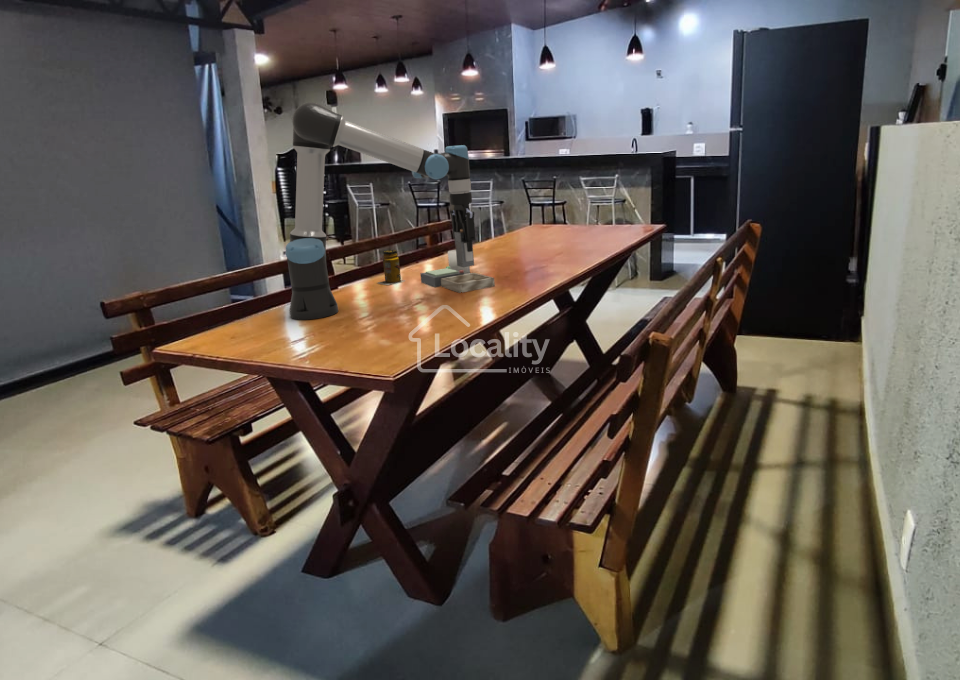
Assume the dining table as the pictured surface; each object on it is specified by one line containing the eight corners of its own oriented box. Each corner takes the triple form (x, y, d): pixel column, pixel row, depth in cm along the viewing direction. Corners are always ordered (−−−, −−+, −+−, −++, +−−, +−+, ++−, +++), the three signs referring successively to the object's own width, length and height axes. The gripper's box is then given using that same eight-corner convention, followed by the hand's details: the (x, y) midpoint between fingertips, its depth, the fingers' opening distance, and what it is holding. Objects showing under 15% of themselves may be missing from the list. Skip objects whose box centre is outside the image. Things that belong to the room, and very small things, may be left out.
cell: (463, 267, 233) (460, 230, 230) (457, 265, 237) (454, 229, 233) (474, 265, 235) (471, 228, 232) (468, 263, 239) (465, 227, 235)
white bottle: (455, 276, 257) (452, 243, 253) (446, 274, 263) (443, 241, 260) (473, 273, 260) (471, 240, 257) (464, 271, 267) (461, 238, 263)
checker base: (435, 287, 241) (434, 275, 240) (421, 282, 251) (419, 271, 250) (465, 281, 246) (464, 270, 245) (449, 277, 257) (448, 266, 256)
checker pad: (436, 279, 242) (436, 275, 242) (425, 275, 250) (425, 271, 249) (458, 275, 246) (458, 271, 246) (447, 272, 254) (447, 268, 254)
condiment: (405, 281, 256) (402, 250, 253) (388, 285, 251) (384, 253, 247) (394, 279, 261) (391, 248, 258) (376, 283, 256) (372, 252, 252)
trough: (459, 292, 229) (458, 284, 228) (441, 286, 241) (440, 278, 240) (494, 286, 236) (494, 277, 235) (475, 280, 248) (474, 272, 247)
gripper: (482, 191, 223) (487, 261, 230) (458, 190, 238) (463, 255, 245) (462, 194, 220) (468, 264, 227) (439, 192, 235) (445, 258, 241)
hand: (466, 259), depth 236 cm, fingers closed on cell, 4 cm apart
